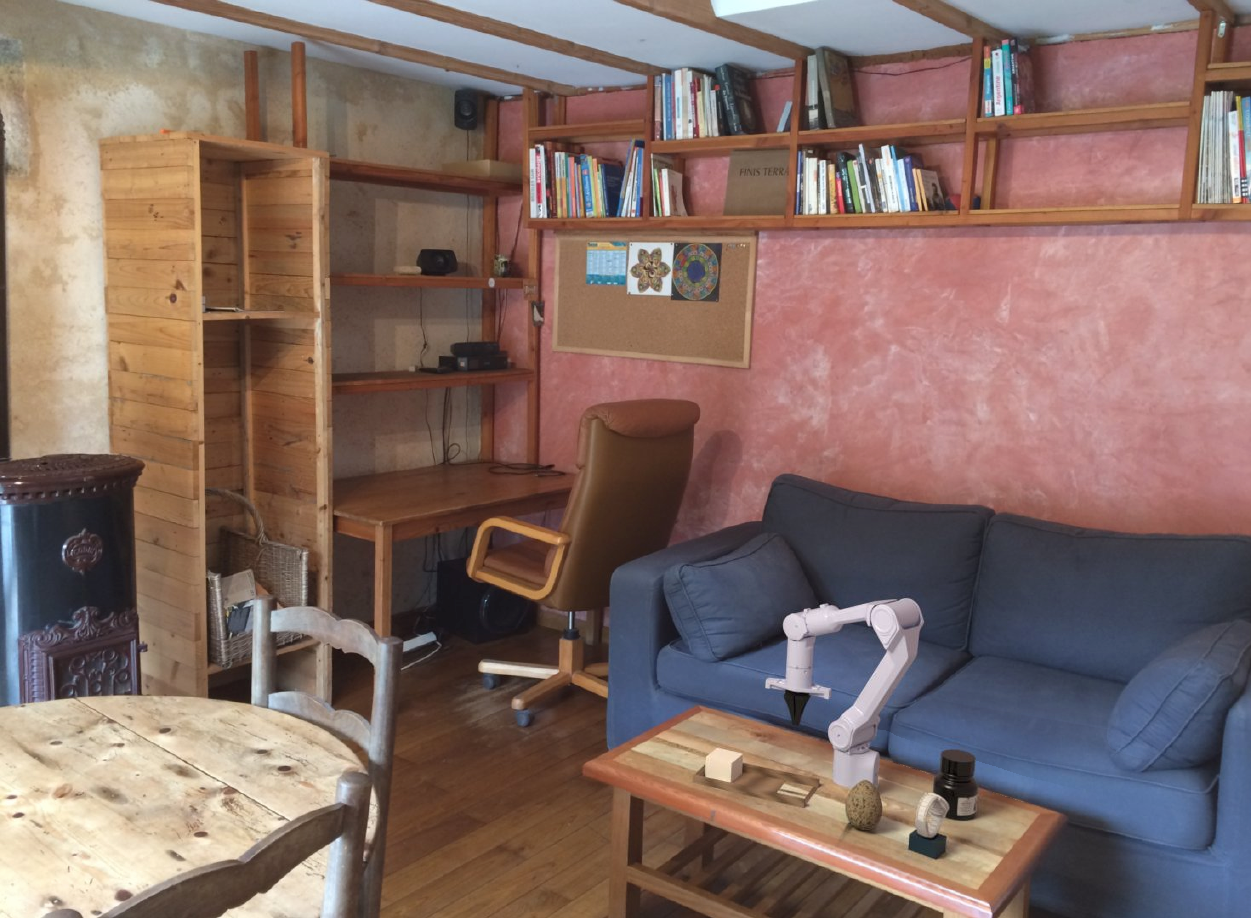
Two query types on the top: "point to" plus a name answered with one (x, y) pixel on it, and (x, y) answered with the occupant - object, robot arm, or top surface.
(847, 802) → the decorative egg
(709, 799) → the top surface
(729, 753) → the ivory block
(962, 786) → the ink bottle
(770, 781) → the box
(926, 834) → the watch
